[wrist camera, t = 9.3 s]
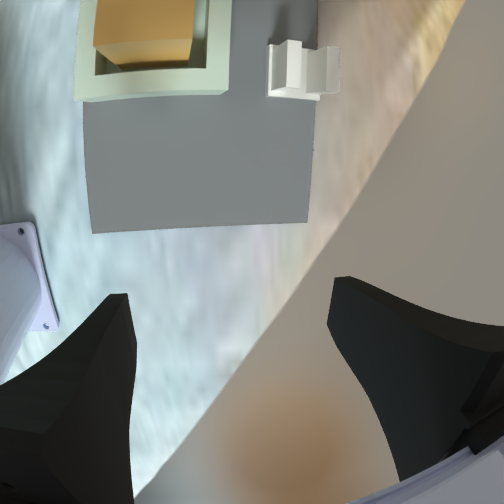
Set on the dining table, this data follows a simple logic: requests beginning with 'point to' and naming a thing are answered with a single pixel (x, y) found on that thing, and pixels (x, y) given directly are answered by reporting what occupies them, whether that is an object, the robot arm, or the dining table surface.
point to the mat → (208, 141)
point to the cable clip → (301, 71)
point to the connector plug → (144, 32)
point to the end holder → (157, 78)
